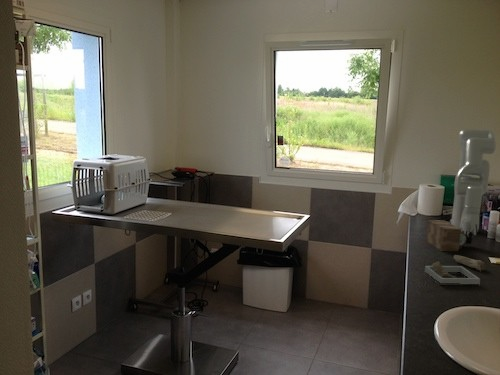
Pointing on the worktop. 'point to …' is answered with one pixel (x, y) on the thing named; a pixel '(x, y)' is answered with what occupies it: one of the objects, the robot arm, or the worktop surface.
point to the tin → (462, 239)
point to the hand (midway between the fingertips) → (467, 243)
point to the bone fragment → (470, 262)
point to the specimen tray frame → (470, 280)
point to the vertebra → (441, 270)
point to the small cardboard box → (443, 235)
